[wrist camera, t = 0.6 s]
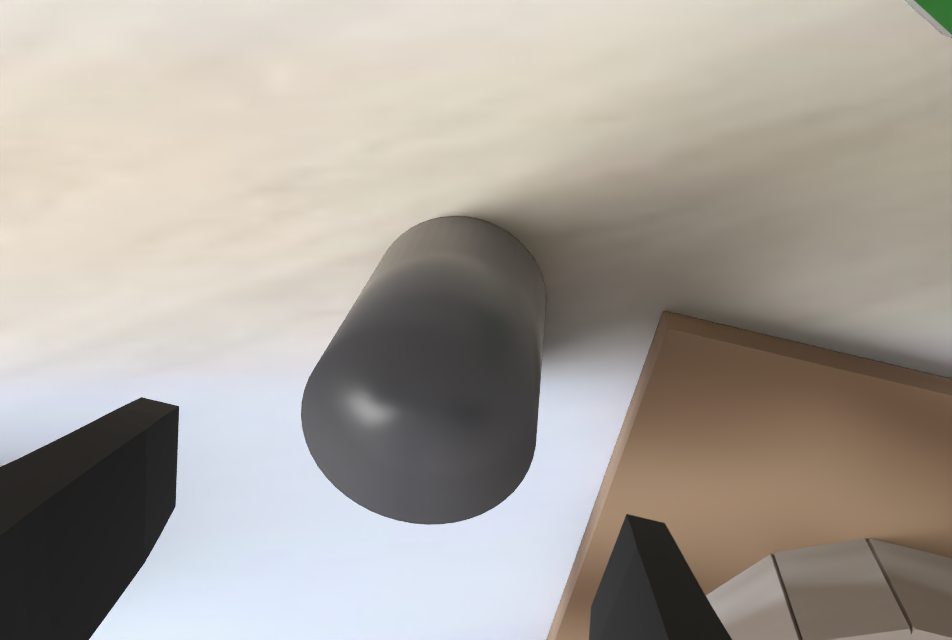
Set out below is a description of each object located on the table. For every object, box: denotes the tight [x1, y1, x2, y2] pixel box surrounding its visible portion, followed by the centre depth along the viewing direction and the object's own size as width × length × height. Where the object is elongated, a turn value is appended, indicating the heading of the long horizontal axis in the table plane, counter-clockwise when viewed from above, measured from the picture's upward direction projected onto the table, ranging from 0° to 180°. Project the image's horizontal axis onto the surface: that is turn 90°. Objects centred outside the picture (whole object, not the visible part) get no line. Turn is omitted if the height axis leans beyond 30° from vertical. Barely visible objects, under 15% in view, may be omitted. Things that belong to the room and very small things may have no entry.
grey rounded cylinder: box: [301, 216, 546, 524], centre depth 17 cm, size 4×4×6 cm
